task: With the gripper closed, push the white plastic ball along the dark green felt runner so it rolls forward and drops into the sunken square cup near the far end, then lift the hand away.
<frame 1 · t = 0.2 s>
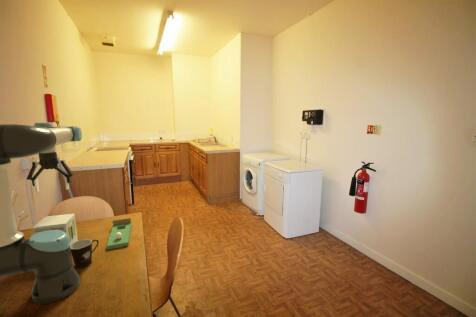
hand: (53, 190, 129), 28 cm above the table, fingers open, 13 cm apart
coffee mug: (87, 262, 110), on the table
green: (120, 236, 135), on the table
ball: (118, 235, 128), point 4 cm above the table, touching green
supplement box: (59, 252, 119), on the table
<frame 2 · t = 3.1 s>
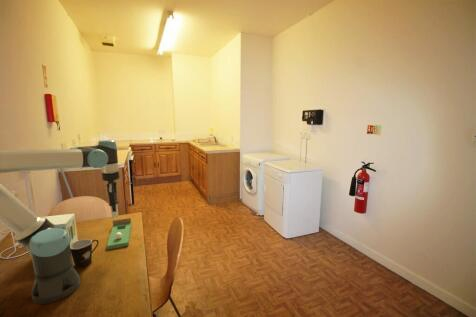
hand: (115, 216, 120), 17 cm above the table, fingers closed
nothing on the table moved.
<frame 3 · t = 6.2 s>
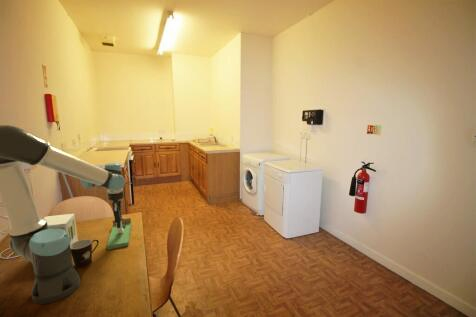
hand: (119, 232, 131), 4 cm above the table, fingers closed
ball: (120, 230, 134), point 4 cm above the table, tilted 148°, touching green
everything else where it was.
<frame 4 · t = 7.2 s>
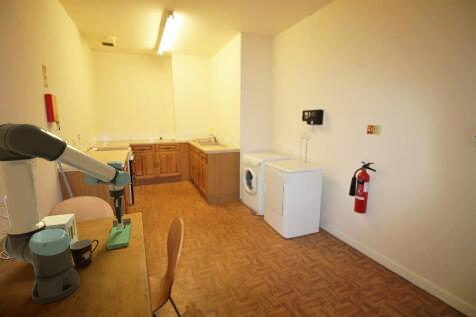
hand: (120, 227, 137), 4 cm above the table, fingers closed
ball: (120, 227, 141), point 2 cm above the table, tilted 105°
everything else where it was.
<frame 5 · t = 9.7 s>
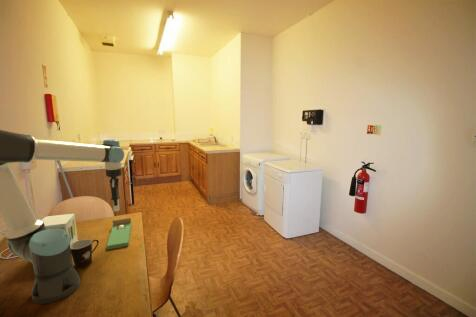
hand: (116, 210, 130), 16 cm above the table, fingers closed
ball: (121, 228, 141), point 2 cm above the table, tilted 94°
everything else where it was.
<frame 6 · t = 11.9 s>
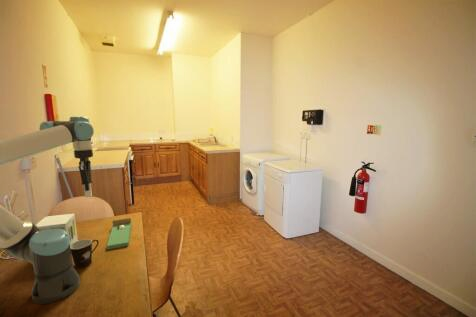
hand: (88, 196, 117), 28 cm above the table, fingers closed
ball: (122, 228, 141), point 2 cm above the table, tilted 85°
everything else where it was.
at the end: ball 0.7 cm from the target spot in the green, point 1.7 cm above the green's base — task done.
